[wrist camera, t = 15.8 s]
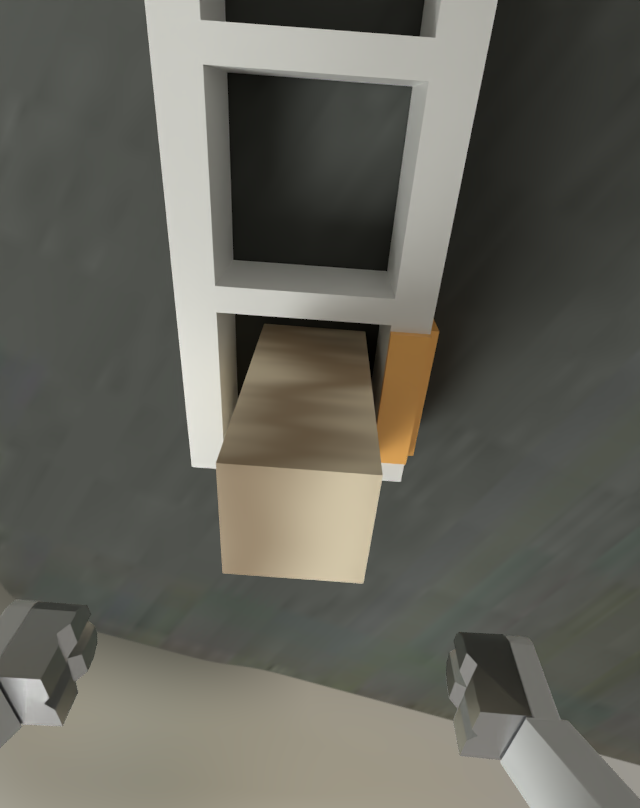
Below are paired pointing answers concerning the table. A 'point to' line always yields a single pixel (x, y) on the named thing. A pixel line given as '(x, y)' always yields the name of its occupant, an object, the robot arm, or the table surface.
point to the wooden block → (301, 459)
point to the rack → (303, 284)
